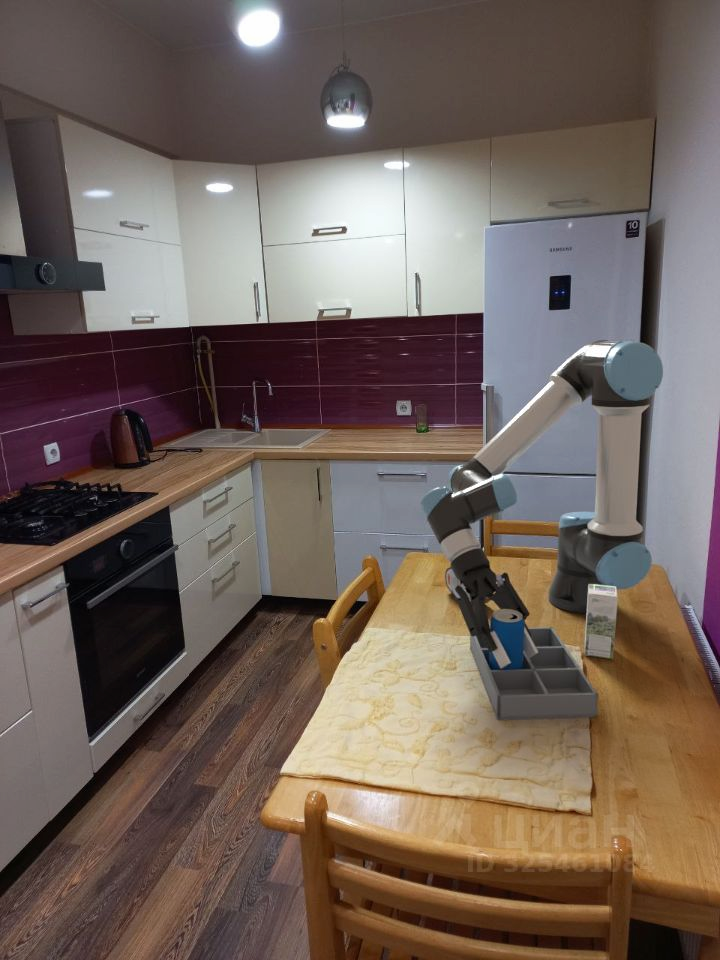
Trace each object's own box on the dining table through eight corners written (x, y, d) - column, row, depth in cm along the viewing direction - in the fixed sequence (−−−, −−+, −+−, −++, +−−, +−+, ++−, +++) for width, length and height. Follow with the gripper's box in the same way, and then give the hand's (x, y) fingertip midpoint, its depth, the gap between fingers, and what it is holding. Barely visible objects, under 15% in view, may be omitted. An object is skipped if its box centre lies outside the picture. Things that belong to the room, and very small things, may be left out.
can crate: (551, 645, 140) (552, 627, 139) (596, 716, 115) (598, 694, 114) (470, 648, 140) (470, 629, 139) (497, 719, 114) (497, 697, 113)
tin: (492, 608, 160) (493, 576, 158) (483, 611, 158) (484, 579, 156) (451, 589, 172) (451, 559, 170) (442, 592, 171) (443, 562, 169)
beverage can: (523, 681, 123) (525, 623, 120) (488, 678, 124) (490, 621, 122) (522, 664, 129) (524, 609, 127) (489, 661, 131) (490, 606, 128)
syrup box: (612, 647, 139) (616, 584, 136) (613, 660, 134) (618, 595, 130) (584, 643, 141) (588, 582, 138) (584, 656, 136) (588, 592, 132)
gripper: (491, 555, 141) (544, 653, 131) (419, 573, 131) (471, 681, 121) (509, 538, 135) (566, 640, 125) (435, 556, 125) (491, 668, 115)
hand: (519, 660), depth 123 cm, fingers open, 6 cm apart
